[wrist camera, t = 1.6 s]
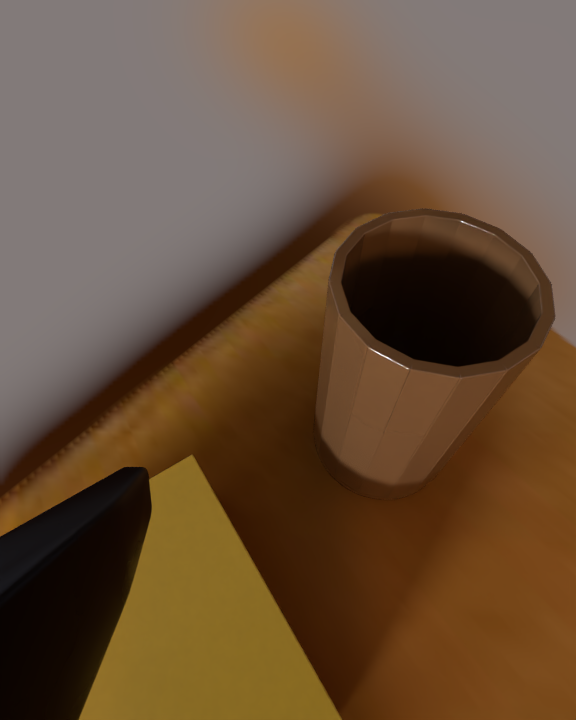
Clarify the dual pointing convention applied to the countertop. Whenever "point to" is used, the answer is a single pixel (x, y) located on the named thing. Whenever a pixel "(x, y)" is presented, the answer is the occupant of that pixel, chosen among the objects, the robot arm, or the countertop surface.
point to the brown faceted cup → (421, 344)
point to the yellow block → (201, 624)
